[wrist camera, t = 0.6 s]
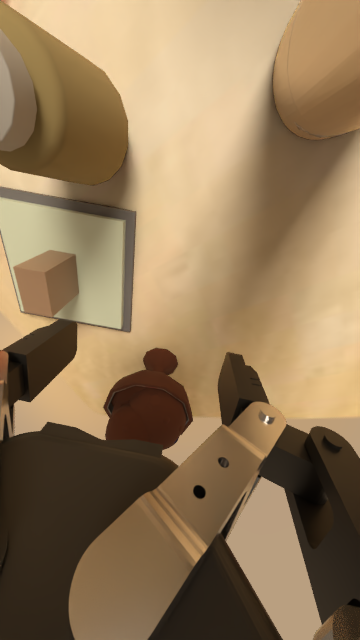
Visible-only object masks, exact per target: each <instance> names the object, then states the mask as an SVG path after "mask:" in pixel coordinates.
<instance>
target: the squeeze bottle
mask: <svg viewBox="0 0 360 640" xmlns="http://www.w3.org/2000/svg"><path fill="white" fill-rule="evenodd" d="M127 148H128V120H127V116H126V113H125V110H124V107H123V103H122V100H121V97H120V94H119V93H118V91H117V90H116V88H115V87H114V85H113V84H112V82H111V81H110V79H109V78H108V76H107V75H106V73H105V72H104V71H103V70H101V69H100V68H98V67H97V66H96V65H94V64H93V63H91V62H90V61H89V60H87V59H86V58H84V57H83V56H82V55H80V54H79V53H77V52H76V51H74V50H73V49H71V48H70V47H68V46H67V45H65V44H64V43H63V42H61V41H60V40H58V39H57V38H55V37H54V36H52V35H51V34H49V33H48V32H46V31H45V30H43V29H42V28H41V27H39V26H38V25H36V24H35V23H33V22H32V21H30V20H29V19H27V18H26V17H24V16H23V15H21V14H20V13H19V12H17V11H16V10H14V9H13V8H11V7H10V6H8V5H7V4H5V3H4V2H2V1H1V0H0V164H1V165H3V166H5V167H6V168H8V169H10V170H13V171H18V172H23V173H28V174H33V175H38V176H43V177H48V178H53V179H58V180H63V181H68V182H73V183H79V184H87V185H96V184H99V183H102V182H105V181H107V180H109V179H110V178H111V177H112V176H113V175H114V174H115V173H116V172H117V171H118V169H119V168H120V167H121V166H122V163H123V160H124V157H125V154H126V151H127Z"/></svg>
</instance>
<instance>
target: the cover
mask: <svg viewBox="0 0 360 640" xmlns="http://www.w3.org/2000/svg"><path fill="white" fill-rule="evenodd" d="M0 230H1V234H2V238H3V242H4V246H5V250H6V254H7V257H8V261H9V265H10V269H11V273H12V277H13V281H14V284H15V288H16V292H17V296H18V300H19V304H20V308H21V311H24V312H26V313H32V314H37V315H43V316H48V317H57V318H62V319H68V320H73V321H79V322H84V323H90V324H95V325H101V326H106V327H112V328H117V329H121V328H122V327H123V314H124V273H125V232H126V220H121V219H115V218H110V217H105V216H99V215H94V214H88V213H83V212H77V211H72V210H67V209H61V208H56V207H50V206H45V205H40V204H34V203H29V202H23V201H18V200H12V199H7V198H2V197H0Z"/></svg>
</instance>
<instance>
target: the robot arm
mask: <svg viewBox="0 0 360 640" xmlns="http://www.w3.org/2000/svg"><path fill="white" fill-rule="evenodd" d="M273 95H274V100H275V104H276V109H277V111H278V113H279V115H280V118H281V120H282V121H283V123H284V124H285V125H286V126H287V128H288V129H289V130H290V131H292V132H293V133H295V134H296V135H297V136H300V137H303V138H306V139H312V140H321V139H326V138H331V137H335V136H339V135H343V134H346V133H348V132H350V131H353V130H357V129H360V0H301V1H300V3H299V5H298V7H297V8H296V10H295V12H294V14H293V16H292V18H291V20H290V21H289V23H288V25H287V28H286V30H285V32H284V35H283V37H282V39H281V42H280V45H279V48H278V52H277V56H276V60H275V65H274V74H273ZM76 351H77V323H76V322H74V321H69V320H64V319H59V320H57V321H56V322H54V323H53V324H51V325H49V326H46V327H42V328H39V329H37V330H35V331H33V332H32V333H30V334H29V335H26V336H25V337H23V339H20V340H18V341H17V342H15V343H13V344H11V345H10V346H8V347H6V348H5V349H3V350H0V640H283V639H282V638H281V636H280V634H279V633H278V631H277V629H276V627H275V626H274V624H273V622H272V620H271V619H270V617H269V615H268V614H267V612H266V610H265V608H264V607H263V605H262V603H261V601H260V600H259V598H258V596H257V595H256V593H255V591H254V589H253V588H252V586H251V584H250V582H249V581H248V579H247V577H246V576H245V574H244V572H243V570H242V569H241V567H240V565H239V564H238V562H237V560H236V558H235V557H234V555H233V553H232V551H231V550H230V548H229V546H228V545H227V543H226V540H227V539H228V537H229V535H230V533H231V531H232V529H233V528H234V526H235V524H236V522H237V520H238V518H239V516H240V514H241V512H242V510H243V509H244V507H245V505H246V503H247V502H248V500H249V498H250V497H251V495H252V493H253V492H254V490H255V488H256V486H257V485H258V483H259V481H260V479H261V477H264V478H265V479H267V480H269V481H271V482H273V483H275V484H277V485H279V486H281V487H283V488H284V489H285V493H286V496H287V500H288V503H289V507H290V511H291V514H292V518H293V522H294V525H295V529H296V533H297V536H298V540H299V543H300V547H301V551H302V554H303V558H304V561H305V565H306V569H307V572H308V576H309V579H310V583H311V587H312V590H313V594H314V598H315V601H316V605H317V608H318V612H319V616H320V619H321V622H322V626H321V627H320V628H319V629H318V630H317V631H316V633H315V635H314V638H313V640H360V458H359V457H358V455H357V454H356V452H355V451H354V449H353V448H352V446H351V445H350V444H349V443H348V442H347V441H346V440H345V439H344V438H343V437H342V436H340V435H339V434H337V433H336V432H334V431H332V430H330V429H327V428H325V427H319V426H317V427H313V428H312V429H311V431H310V433H309V434H307V433H305V432H303V431H300V430H298V429H296V428H293V427H291V426H289V425H287V424H286V419H285V417H284V415H283V414H282V413H281V412H280V411H279V410H278V409H277V408H275V407H274V406H272V405H270V404H269V401H268V399H267V396H266V394H265V391H264V389H263V387H262V384H261V382H260V379H259V377H258V374H257V372H256V371H255V370H254V369H253V368H252V367H251V366H247V365H245V362H244V359H243V357H242V355H240V354H235V353H230V352H227V353H226V356H225V359H224V362H223V366H222V369H221V373H220V376H219V381H218V394H219V402H220V411H221V419H222V425H221V426H220V427H219V428H218V429H217V430H216V431H215V432H214V433H213V434H212V435H211V436H210V437H209V438H208V439H207V440H206V441H205V442H204V443H203V444H201V446H199V448H197V450H195V451H194V452H193V453H192V454H191V455H190V456H189V457H188V458H187V459H186V460H185V461H184V462H183V463H182V464H181V465H180V466H178V465H176V464H175V463H174V462H173V461H171V460H170V459H168V458H167V457H164V456H163V455H162V449H163V445H160V444H155V443H150V442H145V441H140V440H136V439H130V440H101V439H98V438H96V437H94V436H92V435H90V434H88V433H86V432H84V431H82V430H80V429H78V428H76V427H70V426H66V425H61V424H56V423H51V422H47V424H46V425H45V426H44V427H43V429H42V430H41V431H36V432H28V433H23V434H19V435H16V436H14V428H15V427H14V426H15V407H14V403H15V402H16V401H17V400H22V401H27V402H31V401H32V400H33V399H34V398H35V397H36V396H37V395H38V394H39V393H40V392H41V391H42V390H43V389H44V388H45V387H46V386H47V385H48V384H49V383H50V382H51V381H52V380H53V379H54V378H55V377H56V376H57V375H58V374H59V373H60V372H61V371H62V370H63V369H64V368H65V367H66V366H67V365H68V364H69V363H70V362H71V361H72V360H73V359H74V357H75V355H76Z"/></svg>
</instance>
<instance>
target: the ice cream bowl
mask: <svg viewBox="0 0 360 640" xmlns="http://www.w3.org/2000/svg"><path fill="white" fill-rule="evenodd" d="M143 362H144V364H145V367H146V369H147V370H142V371H139V372H136V373H134V374H131V375H128V376H126V377H123V378H122V379H120V380H119V381H118V382H116V384H115V385H114V386H113V388H112V389H111V390H110V392H109V395H108V397H107V400H106V402H105V405H104V407H103V408H104V409H105V411H106V413H107V415H108V416H109V418H110V419H109V421H108V425H107V429H106V434H105V436H106V440H130V439H136V440H140V441H145V442H150V443H155V444H160V445H163V449H162V450H164V449H167V448H169V447H171V446H172V445H174V444H175V443H176V442H177V440H178V438H179V436H180V435H182V433H183V432H184V431H185V430H186V429H187V427H188V426H189V425H190V424H191V422H192V421H193V418H192V412H191V408H190V404H189V401H188V397H187V394H186V391H185V389H184V387H183V386H182V385H181V384H179V383H178V382H176V381H175V380H173V379H172V378H171V377H169V376H168V375H169V374H172V373H173V372H174V370H175V368H176V367H177V365H178V362H177V359H176V356H175V355H174V354H172V353H171V352H170V351H168V350H166V349H159V348H155V349H152V350H150V351H148V352H146V355H145V357H144V359H143Z"/></svg>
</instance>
